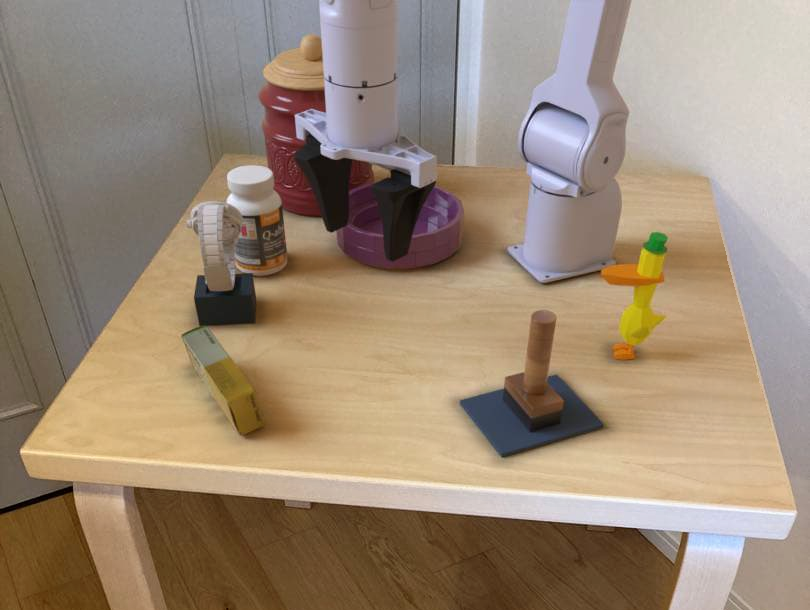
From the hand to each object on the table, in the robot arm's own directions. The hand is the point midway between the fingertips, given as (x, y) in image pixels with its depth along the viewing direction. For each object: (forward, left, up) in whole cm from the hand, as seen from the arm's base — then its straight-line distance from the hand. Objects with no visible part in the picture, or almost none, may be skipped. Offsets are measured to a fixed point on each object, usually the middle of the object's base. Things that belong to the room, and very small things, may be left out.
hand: (366, 242), depth 74 cm
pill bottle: (+5, -18, -10) cm, 22 cm away
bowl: (-11, -17, -10) cm, 23 cm away
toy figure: (-21, +12, -10) cm, 26 cm away
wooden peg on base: (-9, +17, -10) cm, 21 cm away
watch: (+11, -10, -10) cm, 19 cm away
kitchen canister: (-7, -32, -10) cm, 35 cm away
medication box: (+15, +4, -10) cm, 19 cm away
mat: (-9, +17, -10) cm, 21 cm away
